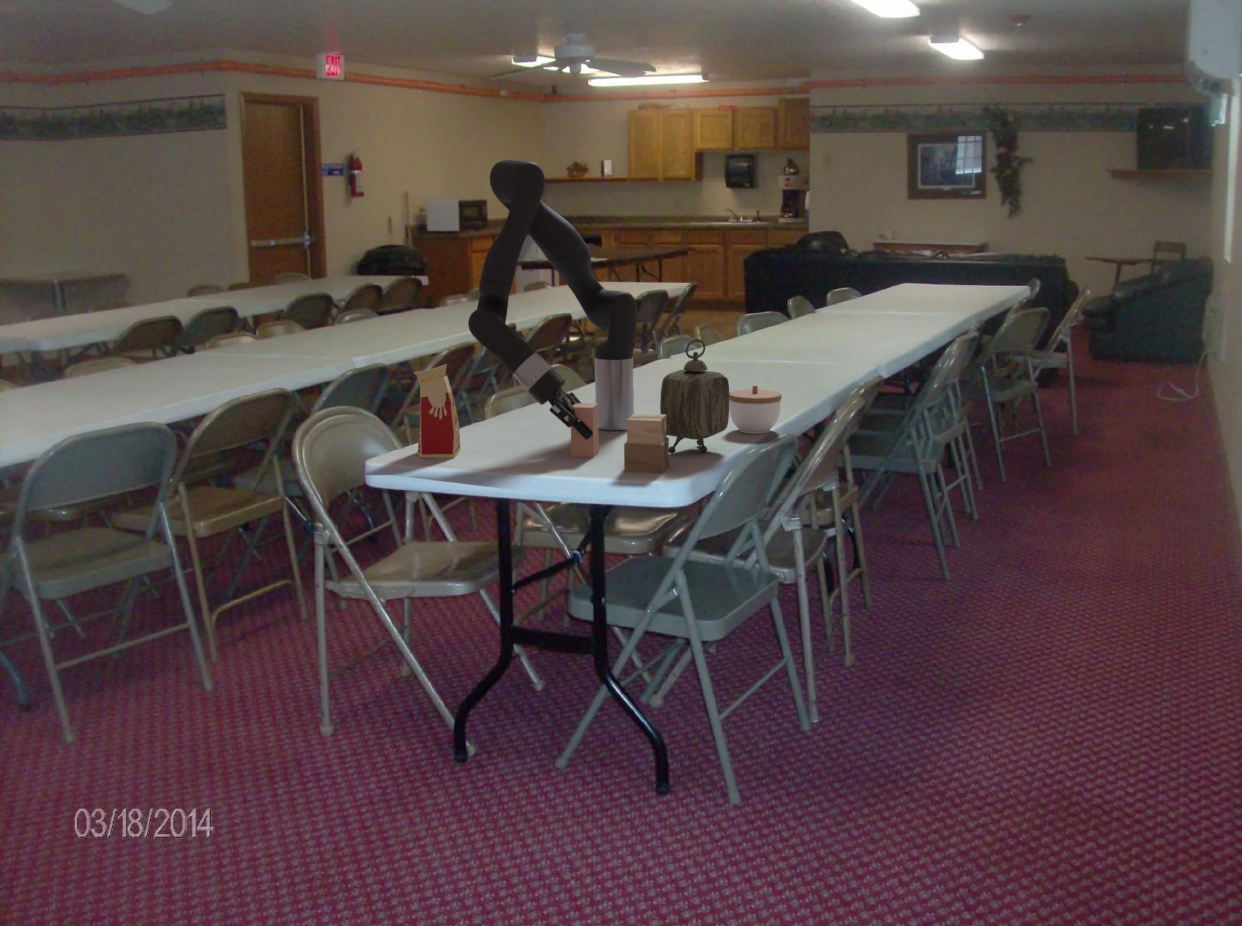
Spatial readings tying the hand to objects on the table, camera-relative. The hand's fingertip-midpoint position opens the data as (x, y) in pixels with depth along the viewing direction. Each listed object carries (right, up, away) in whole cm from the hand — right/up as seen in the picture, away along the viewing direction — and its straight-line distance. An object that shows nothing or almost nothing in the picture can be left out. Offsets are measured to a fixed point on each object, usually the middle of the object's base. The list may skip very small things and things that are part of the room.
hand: (593, 433), depth 264 cm
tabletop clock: (+23, -4, +4) cm, 23 cm away
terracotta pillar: (-2, -5, +1) cm, 5 cm away
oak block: (+12, -2, -13) cm, 18 cm away
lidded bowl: (+38, +1, +26) cm, 46 cm away
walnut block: (+12, -8, -12) cm, 18 cm away
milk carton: (-34, -5, +3) cm, 35 cm away
